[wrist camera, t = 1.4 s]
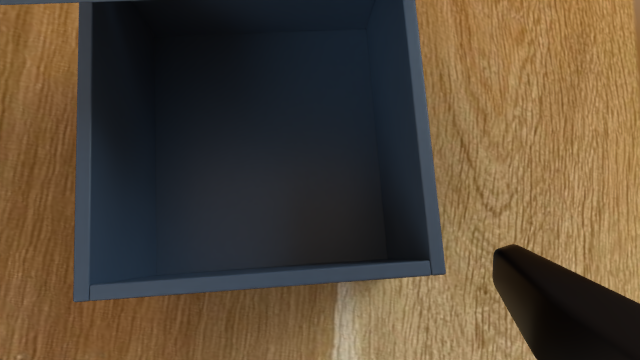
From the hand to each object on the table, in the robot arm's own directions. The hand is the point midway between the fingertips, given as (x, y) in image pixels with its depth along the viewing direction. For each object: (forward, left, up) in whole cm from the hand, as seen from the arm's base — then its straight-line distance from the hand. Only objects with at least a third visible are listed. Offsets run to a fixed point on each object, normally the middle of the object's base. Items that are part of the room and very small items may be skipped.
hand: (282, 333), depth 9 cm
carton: (+7, +1, -13) cm, 15 cm away
